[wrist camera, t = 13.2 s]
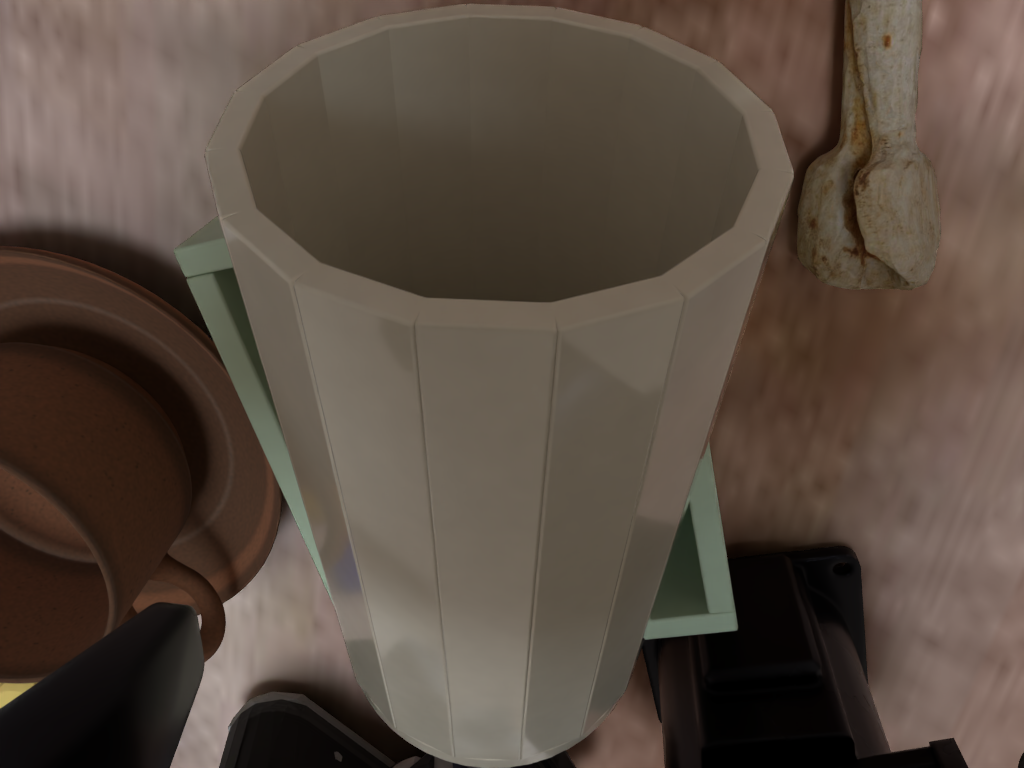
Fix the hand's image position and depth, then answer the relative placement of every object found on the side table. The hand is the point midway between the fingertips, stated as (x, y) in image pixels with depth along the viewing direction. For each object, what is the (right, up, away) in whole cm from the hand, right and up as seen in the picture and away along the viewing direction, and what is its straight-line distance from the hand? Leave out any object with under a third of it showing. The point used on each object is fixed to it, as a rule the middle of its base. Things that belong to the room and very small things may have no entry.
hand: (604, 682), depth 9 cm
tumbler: (-1, -2, +10) cm, 10 cm away
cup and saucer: (-13, +2, +15) cm, 20 cm away
